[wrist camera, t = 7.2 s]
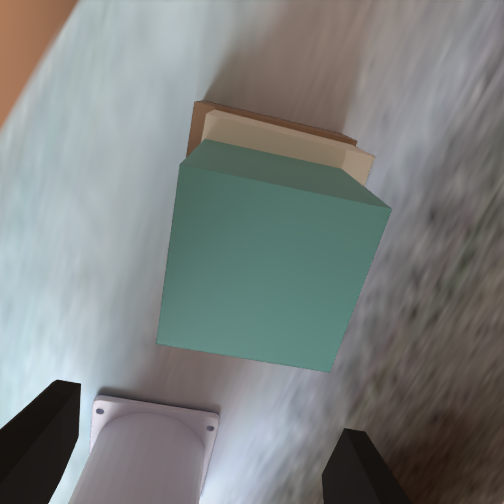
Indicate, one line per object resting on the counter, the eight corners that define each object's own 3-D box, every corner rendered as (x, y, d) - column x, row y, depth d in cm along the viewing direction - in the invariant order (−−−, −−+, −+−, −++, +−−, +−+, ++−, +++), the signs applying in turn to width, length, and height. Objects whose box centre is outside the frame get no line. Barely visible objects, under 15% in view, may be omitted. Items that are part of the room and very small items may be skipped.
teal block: (305, 287, 14) (329, 372, 9) (184, 265, 13) (156, 344, 9) (341, 168, 12) (392, 208, 8) (204, 138, 11) (180, 164, 7)
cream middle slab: (309, 265, 17) (321, 300, 14) (190, 239, 16) (178, 270, 13) (350, 144, 14) (374, 156, 12) (214, 109, 14) (206, 113, 11)
